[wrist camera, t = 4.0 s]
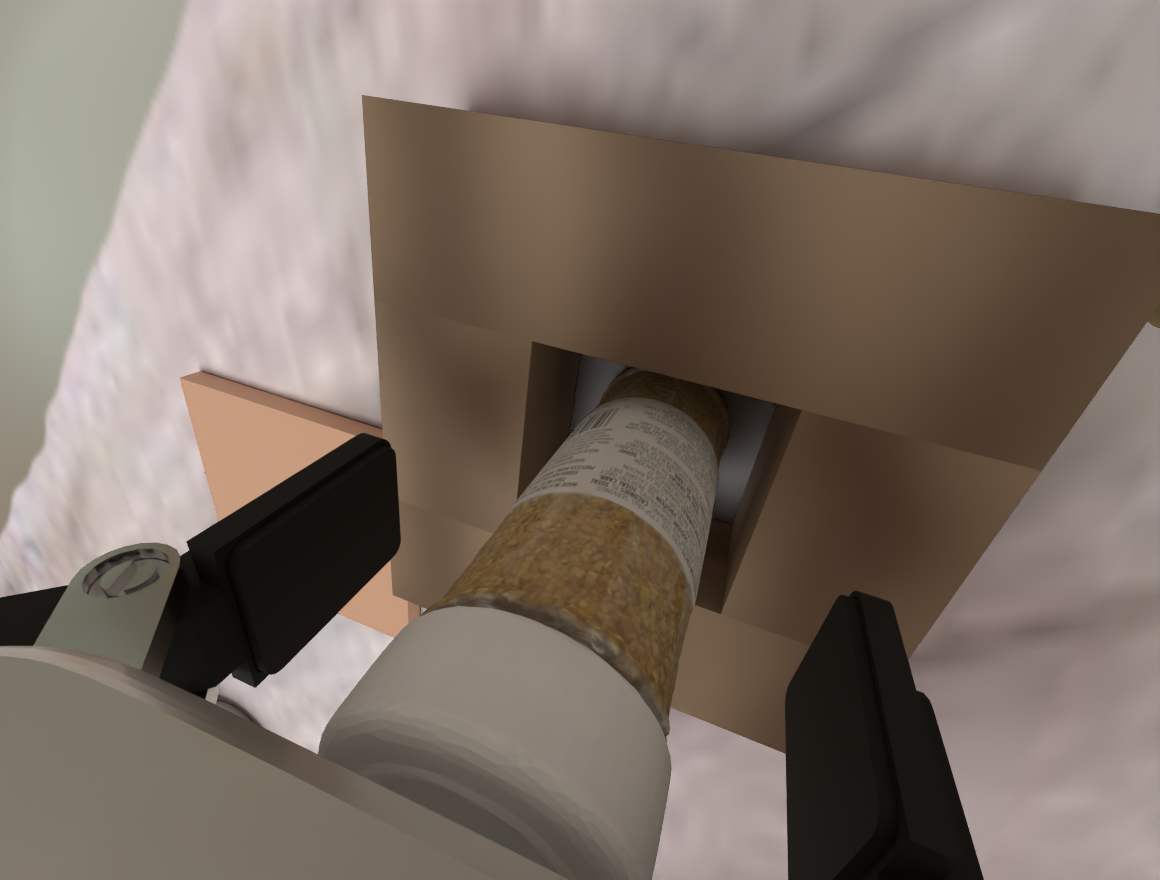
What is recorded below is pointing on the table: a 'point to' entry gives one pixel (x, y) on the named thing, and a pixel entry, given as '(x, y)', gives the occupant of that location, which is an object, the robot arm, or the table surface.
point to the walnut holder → (738, 358)
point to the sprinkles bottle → (558, 646)
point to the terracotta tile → (278, 466)
